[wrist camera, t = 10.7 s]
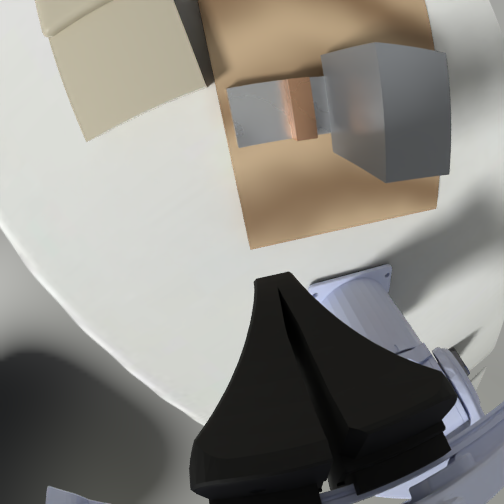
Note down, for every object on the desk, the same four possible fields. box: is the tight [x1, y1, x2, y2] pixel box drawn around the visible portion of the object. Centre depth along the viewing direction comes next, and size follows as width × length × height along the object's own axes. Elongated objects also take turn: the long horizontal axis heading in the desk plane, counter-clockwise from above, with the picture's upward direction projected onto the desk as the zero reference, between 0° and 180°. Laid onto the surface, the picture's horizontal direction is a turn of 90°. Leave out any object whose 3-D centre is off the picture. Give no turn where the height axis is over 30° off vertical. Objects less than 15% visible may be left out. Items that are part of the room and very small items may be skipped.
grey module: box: [320, 42, 451, 183], centre depth 12 cm, size 6×4×6 cm, turn 10°
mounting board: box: [198, 0, 439, 250], centre depth 16 cm, size 18×16×1 cm
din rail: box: [226, 76, 331, 148], centre depth 15 cm, size 4×15×2 cm, turn 100°
